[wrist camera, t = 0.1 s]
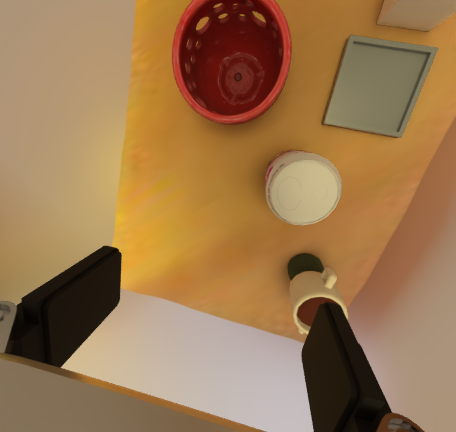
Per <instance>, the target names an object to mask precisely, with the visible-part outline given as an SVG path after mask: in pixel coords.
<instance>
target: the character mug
mask: <svg viewBox="0 0 456 432" xmlns="http://www.w3.org/2000/svg"><path fill="white" fill-rule="evenodd" d="M288 274H289V277H290V279H291V282H290V287H289V295H290V301H291V308H292V314H293V318H294V322H295V324H296V325H297V327H298V331H299V332H300V333H301V334H304V333H306V334H307V335H308V333H309V330H310V328H311V325H312V323H313V320H314V317H315V315H316V312H317V310H318V307H319V305H320V304H324V303H325V302H326V301H327V302H331V303H335V304H339V305H340V306H341V307H342V309H343V312H344V314H345V316H346V318H347V320H348V313H347V309H346V306H345V304H344V302H343V299H342V296H341V294H340V292H339V291H338V289H337V286H336V284H335V282H336V279H337V277H336V274H335V272H334V271H333V269H332V268H331V267H330V266H326V268H325V269H324V268H323V265H322V263H321V261H320V259H318V258H317V257H315V256H313V255H307V254H304V255H298V256H296V257H295V258H293V259H292V260H291V261H290V263H289V265H288Z"/></svg>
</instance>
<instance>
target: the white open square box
mask: <svg viewBox="0 0 456 432" xmlns="http://www.w3.org/2000/svg"><path fill="white" fill-rule="evenodd" d="M455 13H456V0H384V3H383V6H382V9H381V12H380V15H379V18H378V21H377V24H378V25H385V26H392V27H399V28H406V29H413V30H420V31H427V32H428V31H430V30H431V29H433V28H434V27H436V26H437V25H439V24H440V23H442V22H443V21H444V20H446V19H447V18H449V17H450V16H452V15H453V14H455Z"/></svg>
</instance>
